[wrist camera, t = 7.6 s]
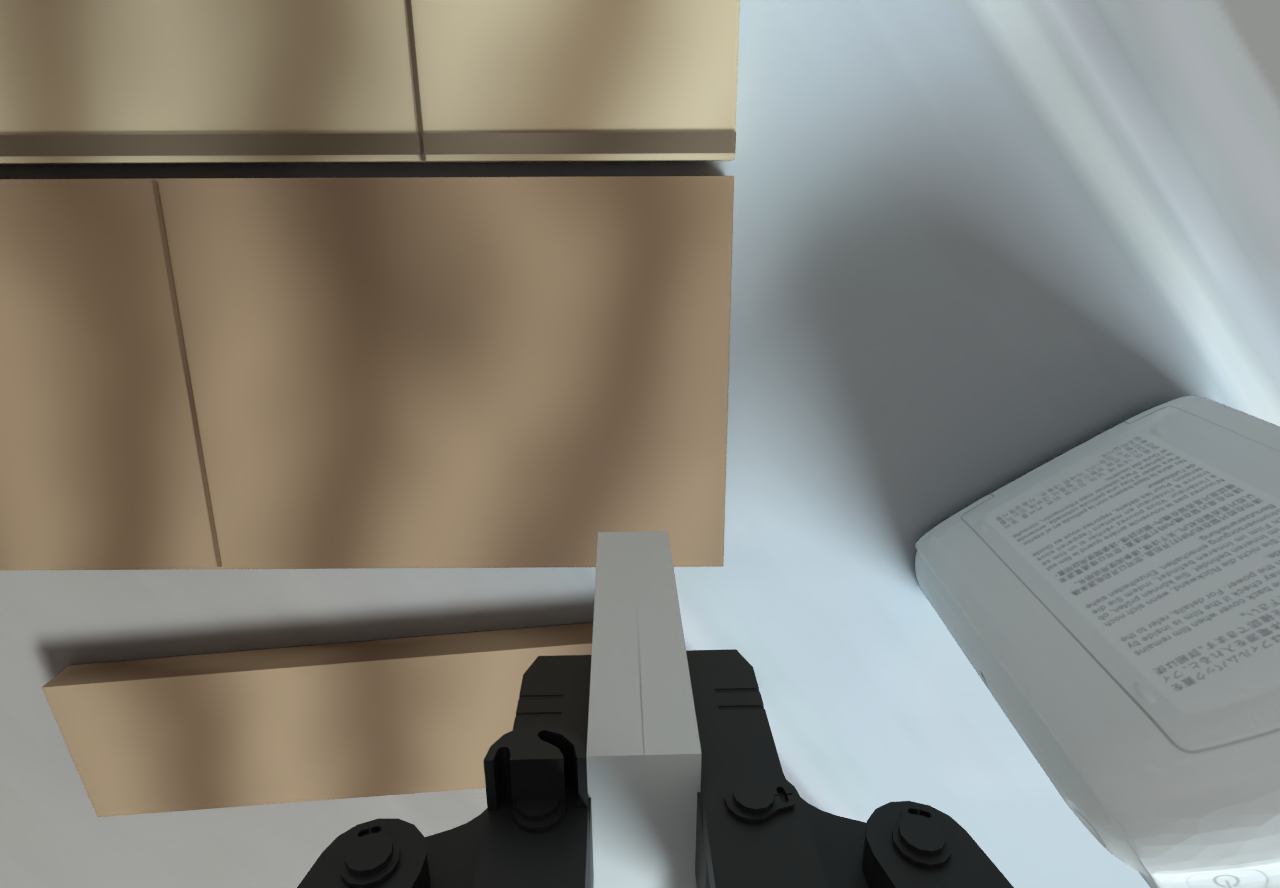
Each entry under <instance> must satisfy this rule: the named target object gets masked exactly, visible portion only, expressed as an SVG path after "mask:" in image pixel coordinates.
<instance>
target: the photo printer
mask: <svg viewBox="0 0 1280 888" xmlns="http://www.w3.org/2000/svg"><path fill="white" fill-rule="evenodd" d="M916 549H917V553H916V558H915V572H916V577H917V581H918V584H919V586H920V588H921V590H922V591H923V593H924V595H925V596H926V598H927V599H928V600H929V602H930V603H931V605H932V606H933V608H934V609H935V611H936V612H937V614H938V615H939V617H940V618H941V620H942V621H943V623H944V624H945V626H946V627H947V629H948V630H949V632H950V633H951V635H952V636H953V638H954V639H955V641H956V642H957V644H958V645H959V647H960V648H961V650H962V651H963V653H964V654H965V655H966V657H967V658H968V660H969V661H970V663H971V664H972V666H973V667H974V669H975V670H976V672H977V673H978V675H979V676H980V678H981V679H982V681H983V682H984V683H985V685H986V686H987V688H988V689H989V690H990V692H991V694H992V695H993V697H994V698H995V700H996V701H997V703H998V704H999V706H1000V707H1001V709H1002V710H1003V712H1004V713H1005V715H1006V716H1007V717H1008V719H1009V720H1010V722H1011V723H1012V725H1013V726H1014V728H1015V729H1016V731H1017V732H1018V734H1019V735H1020V737H1021V738H1022V739H1023V741H1024V742H1025V744H1026V745H1027V747H1028V748H1029V750H1030V751H1031V753H1032V754H1033V756H1034V757H1035V758H1036V760H1037V761H1038V763H1039V764H1040V766H1041V767H1042V768H1043V770H1044V771H1045V773H1046V774H1047V776H1048V777H1049V779H1050V780H1051V782H1052V783H1053V785H1054V786H1055V788H1056V789H1057V791H1058V792H1059V794H1060V795H1061V796H1062V798H1063V799H1064V801H1065V802H1066V804H1067V805H1068V806H1069V808H1070V809H1071V810H1072V811H1073V812H1074V814H1075V815H1076V816H1077V817H1078V818H1079V820H1080V821H1081V822H1082V823H1083V824H1084V826H1085V827H1086V828H1087V829H1088V830H1089V831H1090V832H1091V833H1092V834H1093V836H1094V837H1095V838H1096V839H1097V840H1098V841H1099V842H1100V843H1101V844H1102V845H1103V846H1104V847H1105V848H1106V849H1107V850H1108V851H1109V852H1110V853H1111V854H1113V855H1114V856H1115V857H1117V858H1118V859H1120V860H1121V861H1123V862H1124V863H1125V864H1127V865H1128V866H1130V867H1132V868H1133V869H1135V870H1137V871H1138V872H1139V873H1140V874H1141V876H1142V877H1143V878H1144V880H1145V881H1146V882H1147V884H1148V885H1149V886H1150V888H1280V427H1279V426H1277V425H1274V424H1272V423H1269V422H1267V421H1264V420H1262V419H1259V418H1256V417H1254V416H1251V415H1248V414H1246V413H1244V412H1242V411H1239V410H1236V409H1233V408H1231V407H1228V406H1226V405H1224V404H1220V403H1218V402H1215V401H1212V400H1210V399H1207V398H1203V397H1198V396H1186V397H1180V398H1177V399H1174V400H1171V401H1169V402H1166V403H1164V404H1161V405H1159V406H1156V407H1153V408H1151V409H1149V410H1146V411H1144V412H1142V413H1140V414H1138V415H1136V416H1134V417H1132V418H1130V419H1128V420H1126V421H1124V422H1123V423H1120V424H1118V425H1116V426H1115V427H1113V428H1111V429H1109V430H1107V431H1105V432H1103V433H1101V434H1099V435H1097V436H1095V437H1094V438H1092V439H1090V440H1088V441H1086V442H1084V443H1083V444H1081V445H1079V446H1077V447H1075V448H1073V449H1071V450H1069V451H1067V452H1065V453H1064V454H1062V455H1060V456H1058V457H1056V458H1054V459H1052V460H1051V461H1049V462H1047V463H1045V464H1043V465H1041V466H1040V467H1038V468H1036V469H1034V470H1032V471H1030V472H1029V473H1027V474H1025V475H1023V476H1022V477H1020V478H1018V479H1016V480H1014V481H1013V482H1011V483H1009V484H1007V485H1005V486H1003V487H1001V488H999V489H998V490H996V491H994V492H993V493H991V494H989V495H986V496H984V497H983V498H981V499H979V500H978V501H976V502H974V503H973V504H971V505H969V506H968V507H966V508H964V509H963V510H961V511H959V512H957V513H956V514H954V515H952V516H951V517H949V518H948V519H946V520H944V521H943V522H941V523H940V524H938V525H937V526H935V527H934V528H933V529H931V530H930V531H928V532H927V533H926V534H924V535H923V536H922V537H921V538H920V539H919V540H918V541H917V543H916Z"/></svg>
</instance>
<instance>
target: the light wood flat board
mask: <svg viewBox="0 0 1280 888" xmlns="http://www.w3.org/2000/svg"><path fill="white" fill-rule="evenodd" d="M739 17H740V0H0V164H215V163H435V162H655V161H731V160H734V159H735V144H736V132H735V131H736V102H737V74H738V46H739Z"/></svg>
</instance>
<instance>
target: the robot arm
mask: <svg viewBox="0 0 1280 888" xmlns="http://www.w3.org/2000/svg"><path fill="white" fill-rule="evenodd" d="M483 762H484V773H485V784H486V795H487V805H488V808H487V809H486V810H485V811H484V812H483V813H482V814H481V815H479V816H478V817H476V818H474V819H473V820H471V821H470V822H468V823H466V824H464V825H461V826H459V827H456V828H454V829H451V830H448V831H444V832H441V833H438V834H435V835H431V836H428V837H425V838H424V836H423V835H422V834H421V832H420V831H419V830H418V829H417V828H416V827H415V825H413V824H410V823H408V822H405V821H403V820H400V819H376V820H372V821H369V822H365V823H362V824H359V825H356V826H355V827H353V828H351V829H350V830H348V831H346V832H345V833H343V834H341V835H340V836H338V837H337V838H336V839H335V840H334V841H333V842H332V843H331V844H330V845H329V846H328V847H327V848H326V849H325V850H324V851H323V853H322V854H321V855H320V857H319V858H318V859H317V861H316V862H315V864H314V865H313V866H312V868H311V869H310V871H309V872H308V873H307V875H306V876H305V877H304V879H303V880H302V882H301V883H300V884H299V886H298V887H297V888H1014V887H1013V886H1012V885H1011V884H1010V883H1009V881H1008V880H1007V879H1006V878H1005V877H1004V875H1003V874H1002V873H1001V872H1000V871H999V870H998V868H997V867H996V866H995V865H994V864H993V862H992V861H991V860H990V859H989V858H988V856H987V855H986V854H985V853H984V852H983V850H982V849H981V848H980V847H979V846H978V845H977V843H976V842H975V841H974V840H973V839H972V837H971V836H970V835H969V834H968V833H967V831H966V830H965V829H963V828H962V827H961V826H960V825H959V824H958V823H957V822H956V821H954V820H953V819H952V818H951V817H950V816H948V815H946V814H945V813H943V812H941V811H939V810H937V809H935V808H933V807H931V806H928V805H924V804H920V803H915V802H911V801H902V802H890V803H888V804H885V805H883V806H881V807H879V808H877V809H875V811H874V812H873V814H872V815H871V816H870V818H869V819H868V821H867V823H865V822H861V821H856V820H852V819H848V818H844V817H840V816H836V815H833V814H830V813H827V812H824V811H821V810H819V809H818V808H816V807H814V806H812V805H810V804H808V803H807V802H806V801H804V800H803V799H802V798H801V797H800V796H799V794H798V792H797V790H796V789H795V787H794V786H793V785H792V784H791V783H789V782H788V781H787V780H786V778H785V776H784V774H783V771H782V768H781V764H780V761H779V757H778V754H777V750H776V747H775V743H774V740H773V736H772V733H771V729H770V726H769V722H768V719H767V715H766V712H765V709H764V707H763V701H762V698H761V694H760V692H759V687H758V684H757V680H756V677H755V673H754V670H753V667H752V666H751V665H750V664H749V663H748V662H747V661H746V660H745V658H744V657H743V656H742V655H741V654H740V653H739V652H738V651H737V650H694V651H686V648H685V641H684V634H683V628H682V621H681V615H680V608H679V601H678V595H677V588H676V582H675V575H674V568H673V562H672V555H671V549H670V542H669V536H668V531H641V532H598V542H597V561H596V580H595V600H594V619H593V638H592V655H559V656H538V657H537V658H536V660H535V661H534V662H533V663H532V664H531V666H530V667H529V668H528V669H527V670H526V672H525V673H524V674H523V678H522V684H521V689H520V694H519V700H518V705H517V710H516V717H515V720H514V726H513V731H510V732H508V733H506V734H504V735H503V736H501V737H500V738H499V739H498V740H497V741H496V742H495V743H494V744H492V745H491V746H490V748H489V750H488V752H487V754H486V756H485V758H484V760H483Z"/></svg>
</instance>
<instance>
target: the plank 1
mask: <svg viewBox="0 0 1280 888" xmlns="http://www.w3.org/2000/svg"><path fill="white" fill-rule="evenodd" d="M733 193H734V176H606V177H387V178H169V179H0V570H139V569H325V568H511V567H596V561H597V542H598V532H641V531H668V536H669V542H670V549H671V555H672V562H673V567H698V566H723V557H724V521H725V484H726V448H727V412H728V375H729V339H730V302H731V266H732V229H733Z"/></svg>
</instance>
